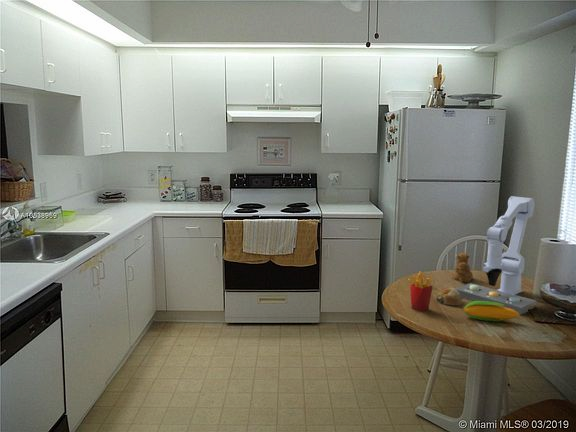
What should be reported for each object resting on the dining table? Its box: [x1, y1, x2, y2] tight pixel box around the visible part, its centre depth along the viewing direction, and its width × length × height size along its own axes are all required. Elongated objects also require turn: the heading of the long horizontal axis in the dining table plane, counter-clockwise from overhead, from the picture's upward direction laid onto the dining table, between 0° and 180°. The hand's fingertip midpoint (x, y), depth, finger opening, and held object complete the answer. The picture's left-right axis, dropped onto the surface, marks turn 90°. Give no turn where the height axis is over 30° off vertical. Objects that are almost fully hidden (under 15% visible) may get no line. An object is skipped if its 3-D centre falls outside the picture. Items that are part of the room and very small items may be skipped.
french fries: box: [407, 271, 434, 312], centre depth 194 cm, size 9×8×15 cm
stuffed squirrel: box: [451, 252, 474, 283], centre depth 235 cm, size 10×14×13 cm
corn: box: [463, 301, 521, 322], centre depth 184 cm, size 7×8×20 cm
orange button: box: [489, 292, 499, 297], centre depth 205 cm, size 4×4×3 cm
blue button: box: [509, 297, 520, 303], centre depth 198 cm, size 4×4×3 cm
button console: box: [454, 282, 538, 316], centre depth 205 cm, size 14×30×3 cm, turn 39°
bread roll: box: [436, 287, 463, 306], centre depth 203 cm, size 10×10×8 cm
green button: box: [469, 284, 480, 292], centre depth 212 cm, size 4×4×3 cm
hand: (492, 285), depth 205 cm, fingers closed
